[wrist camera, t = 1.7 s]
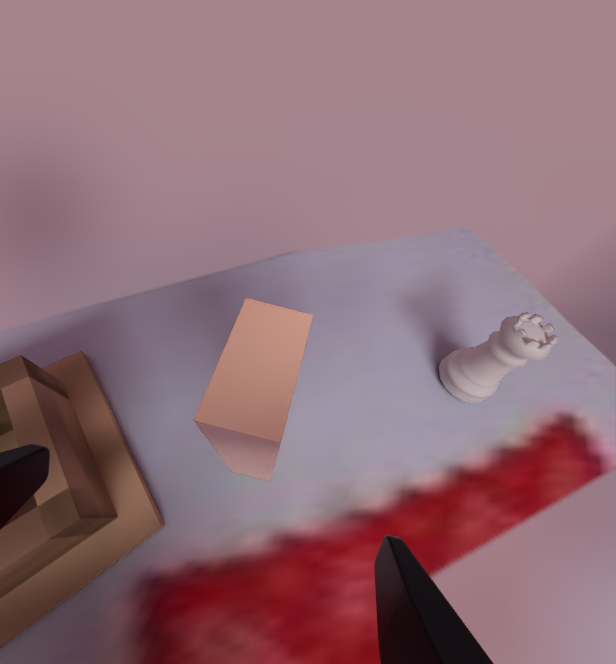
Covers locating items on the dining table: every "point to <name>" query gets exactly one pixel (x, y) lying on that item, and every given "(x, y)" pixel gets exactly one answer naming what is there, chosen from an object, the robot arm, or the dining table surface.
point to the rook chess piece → (495, 357)
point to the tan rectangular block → (254, 387)
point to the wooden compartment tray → (66, 489)
